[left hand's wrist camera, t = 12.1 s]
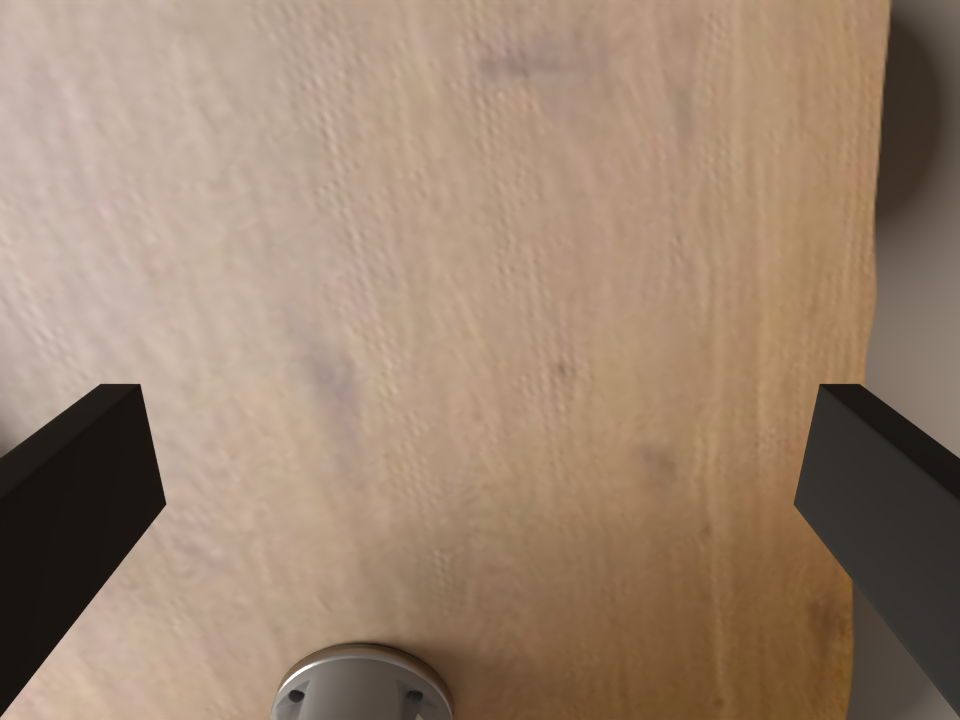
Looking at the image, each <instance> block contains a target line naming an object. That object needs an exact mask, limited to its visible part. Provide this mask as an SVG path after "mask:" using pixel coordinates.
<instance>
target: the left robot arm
mask: <svg viewBox="0 0 960 720" xmlns="http://www.w3.org/2000/svg"><path fill="white" fill-rule="evenodd" d="M165 505H166V500H165V496H164V491H163V487H162V482H161V477H160V473H159V468H158V464H157V459H156V454H155V450H154V445H153V441H152V436H151V431H150V427H149V422H148V417H147V413H146V408H145V404H144V399H143V394H142V390H141V385H140V384H100V385H99V386H97V387H96V388H95V389H93V390H92V391H90V392H89V393H88V394H86V395H85V396H84V397H82V398H81V399H80V400H78V401H77V402H76V403H74V404H73V405H72V406H70V407H69V408H68V409H66V410H65V411H64V412H62V413H61V414H60V415H58V416H57V417H56V418H54V419H53V420H52V421H50V422H49V423H47V424H46V425H45V426H43V427H42V428H41V429H39V430H38V431H37V432H35V433H34V434H33V435H31V436H30V437H29V438H27V439H26V440H25V441H23V442H22V443H21V444H19V445H18V446H17V447H15V448H14V449H13V450H11V451H10V452H8V453H7V454H6V455H4V456H3V457H2V458H0V717H1V716H2V715H3V713H4V712H5V711H6V710H7V708H8V707H9V706H10V704H11V703H12V702H13V701H14V699H15V698H16V697H17V695H18V694H19V693H20V692H21V690H22V689H23V688H24V686H25V685H26V684H27V683H28V681H29V680H30V679H31V677H32V676H33V675H34V674H35V672H36V671H37V670H38V668H39V667H40V666H41V665H42V663H43V662H44V661H45V659H46V658H47V657H48V656H49V654H50V653H51V652H52V651H53V649H54V648H55V647H56V645H57V644H58V643H59V642H60V640H61V639H62V638H63V636H64V635H65V634H66V633H67V631H68V630H69V629H70V627H71V626H72V625H73V624H74V622H75V621H76V620H77V618H78V617H79V616H80V615H81V613H82V612H83V611H84V609H85V608H86V607H87V606H88V604H89V603H90V602H91V600H92V599H93V598H94V597H95V595H96V594H97V593H98V591H99V590H100V589H101V588H102V586H103V585H104V584H105V582H106V581H107V580H108V579H109V577H110V576H111V575H112V573H113V572H114V571H115V570H116V568H117V567H118V566H119V565H120V563H121V562H122V561H123V559H124V558H125V557H126V556H127V554H128V553H129V552H130V550H131V549H132V548H133V547H134V545H135V544H136V543H137V541H138V540H139V539H140V538H141V536H142V535H143V534H144V532H145V531H146V530H147V529H148V527H149V526H150V525H151V523H152V522H153V521H154V520H155V518H156V517H157V516H158V514H159V513H160V512H161V511H162V509H163V508H164V507H165ZM794 505H795V507H796V508H797V509H798V511H799V512H800V513H801V514H802V516H803V517H804V518H805V520H806V521H807V522H808V523H809V525H810V526H811V527H812V529H813V530H814V531H815V532H816V534H817V535H818V536H819V538H820V539H821V540H822V541H823V543H824V544H825V545H826V547H827V548H828V549H829V550H830V552H831V553H832V554H833V556H834V557H835V558H836V559H837V561H838V562H839V563H840V565H841V566H842V567H843V568H844V570H845V571H846V572H847V573H848V575H849V576H850V577H851V579H852V580H853V581H854V582H855V584H856V585H857V586H858V588H859V589H860V590H861V591H862V593H863V594H864V595H865V597H866V598H867V599H868V600H869V602H870V603H871V604H872V606H873V607H874V608H875V609H876V611H877V612H878V613H879V615H880V616H881V617H882V618H883V620H884V621H885V622H886V624H887V625H888V626H889V627H890V629H891V630H892V631H893V633H894V634H895V635H896V636H897V638H898V639H899V640H900V641H901V643H902V644H903V645H904V646H905V648H906V649H907V651H908V652H909V653H910V654H911V656H912V657H913V658H914V659H915V661H916V662H917V663H918V665H919V666H920V667H921V668H922V670H923V671H924V672H925V674H926V675H927V676H928V677H929V679H930V680H931V681H932V682H933V684H934V685H935V686H936V688H937V689H938V690H939V692H940V693H941V694H942V695H943V697H944V698H945V699H946V700H947V702H948V703H949V704H950V706H951V707H952V708H953V709H954V711H955V712H956V713H957V715H958V716H959V717H960V458H958V457H957V456H956V455H954V454H953V453H951V452H950V451H949V450H947V449H946V448H945V447H943V446H942V445H941V444H939V443H938V442H937V441H935V440H934V439H933V438H931V437H930V436H929V435H927V434H926V433H925V432H923V431H922V430H921V429H919V428H918V427H917V426H915V425H914V424H913V423H911V422H910V421H908V420H907V419H906V418H904V417H903V416H902V415H900V414H899V413H898V412H896V411H895V410H894V409H892V408H891V407H890V406H888V405H887V404H886V403H884V402H883V401H882V400H880V399H879V398H877V397H876V396H875V395H873V394H872V393H871V392H869V391H868V390H867V389H865V388H864V387H863V386H861V385H860V384H820V385H819V390H818V394H817V399H816V404H815V408H814V413H813V417H812V422H811V427H810V431H809V436H808V440H807V445H806V450H805V454H804V459H803V464H802V468H801V473H800V477H799V482H798V487H797V491H796V496H795V500H794ZM270 720H453V703H452V699H451V696H450V693H449V691H448V689H447V687H446V686H445V684H444V683H443V681H442V680H441V679H440V677H439V676H438V675H437V674H436V673H435V672H434V671H433V670H432V669H431V668H429V667H428V666H427V665H426V664H424V663H423V662H421V661H420V660H418V659H416V658H414V657H412V656H410V655H408V654H406V653H404V652H401V651H398V650H395V649H392V648H388V647H384V646H378V645H370V644H347V645H339V646H334V647H330V648H326V649H323V650H320V651H318V652H315V653H313V654H311V655H309V656H307V657H305V658H304V659H302V660H301V661H299V662H298V663H297V664H295V665H294V666H293V667H292V668H291V669H290V670H289V671H288V672H287V674H286V675H285V676H284V678H283V679H282V681H281V683H280V685H279V688H278V691H277V694H276V696H275V699H274V702H273V705H272V710H271V717H270Z"/></svg>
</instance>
